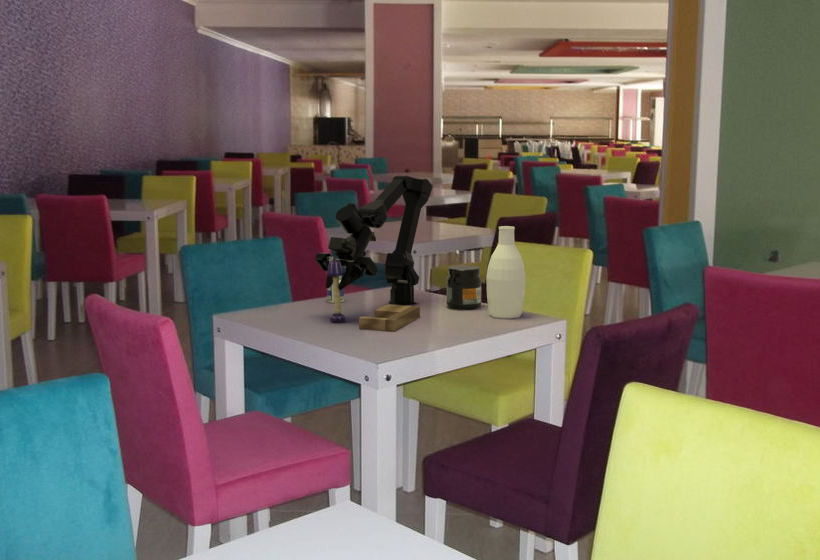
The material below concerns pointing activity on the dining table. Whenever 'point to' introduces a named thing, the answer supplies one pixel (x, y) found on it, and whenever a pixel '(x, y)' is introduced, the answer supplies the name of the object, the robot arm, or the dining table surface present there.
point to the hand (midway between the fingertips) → (332, 288)
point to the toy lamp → (336, 288)
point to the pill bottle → (331, 293)
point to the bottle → (506, 278)
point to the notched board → (390, 318)
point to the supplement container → (463, 287)
